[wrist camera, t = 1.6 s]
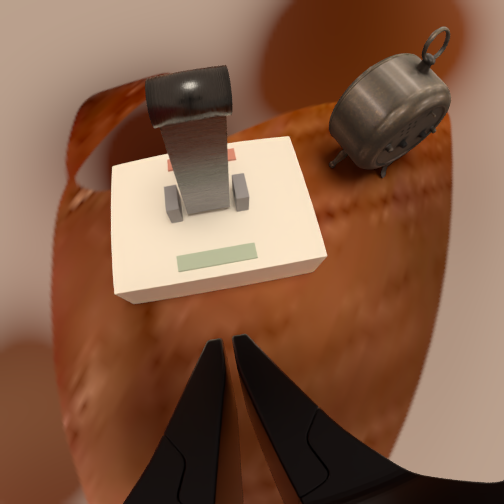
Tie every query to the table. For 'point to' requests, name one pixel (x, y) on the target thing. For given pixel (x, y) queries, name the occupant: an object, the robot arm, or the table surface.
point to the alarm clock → (390, 109)
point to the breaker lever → (195, 132)
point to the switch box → (212, 226)
